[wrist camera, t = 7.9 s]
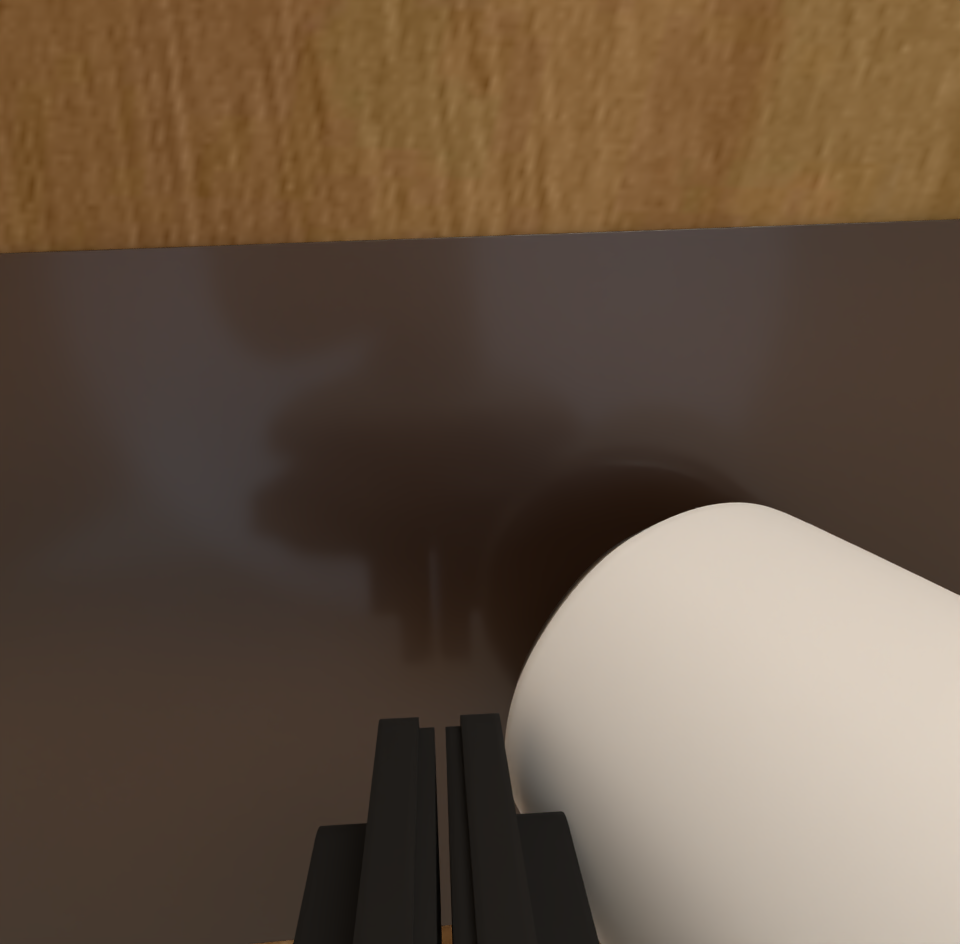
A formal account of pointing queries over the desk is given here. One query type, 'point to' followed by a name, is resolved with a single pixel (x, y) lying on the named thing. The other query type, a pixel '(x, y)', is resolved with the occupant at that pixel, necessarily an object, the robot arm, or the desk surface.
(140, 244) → the desk surface
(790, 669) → the can
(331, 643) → the runner
